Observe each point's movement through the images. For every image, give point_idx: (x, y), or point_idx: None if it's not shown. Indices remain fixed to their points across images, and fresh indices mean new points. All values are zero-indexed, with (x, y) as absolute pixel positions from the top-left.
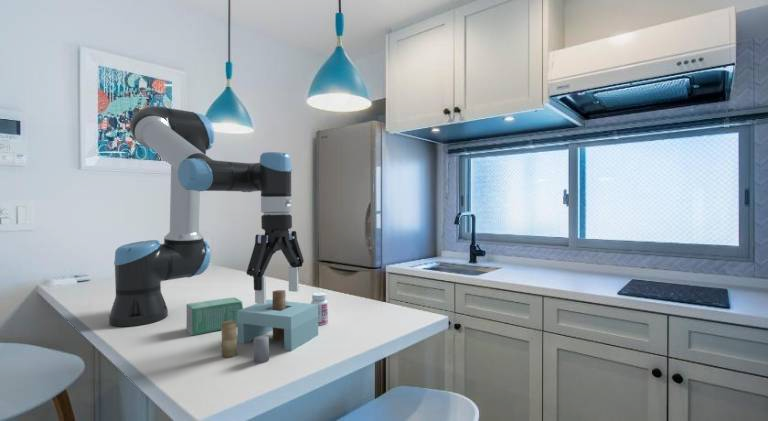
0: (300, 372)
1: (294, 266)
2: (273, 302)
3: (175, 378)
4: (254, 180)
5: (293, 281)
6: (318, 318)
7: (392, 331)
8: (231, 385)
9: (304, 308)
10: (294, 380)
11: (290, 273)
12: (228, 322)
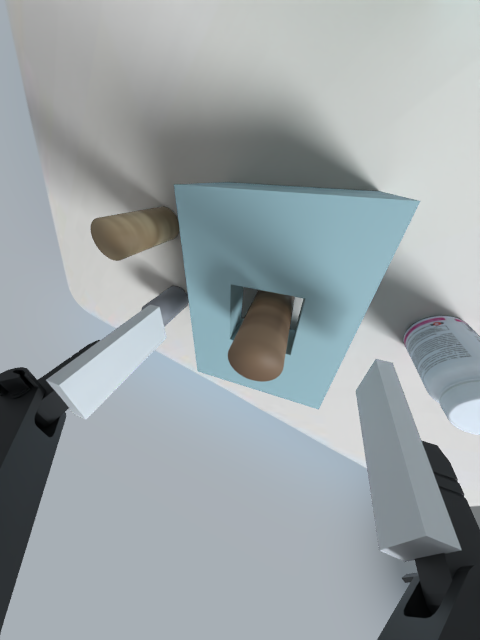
0: (175, 354)
1: (426, 565)
2: (242, 322)
3: (68, 199)
4: None
5: (372, 426)
6: (408, 351)
7: (349, 443)
8: (113, 296)
9: (269, 386)
10: (159, 352)
11: (395, 471)
12: (107, 238)
